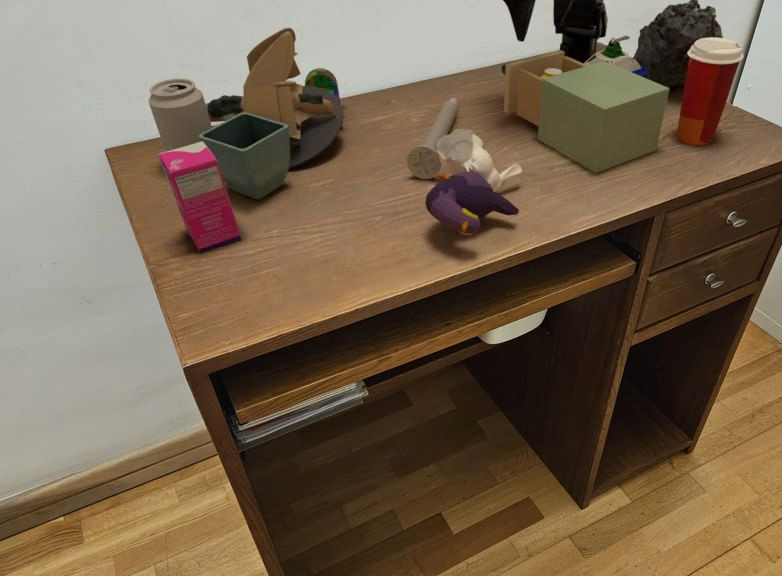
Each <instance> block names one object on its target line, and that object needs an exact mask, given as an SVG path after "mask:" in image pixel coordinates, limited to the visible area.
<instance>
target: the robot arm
mask: <svg viewBox="0 0 782 576" xmlns="http://www.w3.org/2000/svg"><path fill="white" fill-rule="evenodd" d="M502 1H503V3H504V4H505V5H506V7H507V10H508V13H509V15H510V19H511V22H512V26H513V29H514V34H515V36H516V40H517V41H518V42H520V43H521V42H522V43H523V42H524V41H525V40H526V36H527V34H528V30H529V27H530V24H531V19H532V17H533V16H532V15H533V12H534V9H535V5H536V0H502ZM604 1H605V0H553V7H552V8H553V9H552V10H553V11H552V12H553V13H552V14H553V15H552V16H553V19H552V20H553V27H554V28H555V29H554V30H555V31H554V32H555V34H556V35H559V34H560V35H561V42H560V44H559V50H561V51H564V52H565V53H564V57H566V56H567V57H569V58H572V59H574V60H576V61H578V62H581V63H583V64H584V63H585V62H586V61H587V60H588V59H589V58H590V57H592V56H593V55H594V54H595V53H597V46H598V45H597V44H598V40H600V39H601V38H606V37H607V31H608V30H607V29H608V22H609V17H608V14H607V9H606V4H605V2H604Z"/></svg>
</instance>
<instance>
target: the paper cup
mask: <svg viewBox="0 0 782 576" xmlns="http://www.w3.org/2000/svg"><path fill="white" fill-rule="evenodd" d="M687 54H688V56H689V57H690V58H689V64H688V69H687V75H686V81H685V85H684V87H683V88H684V89H683V93H682V99H681V105H680V111H679V117H678V123H677V129H676V130H677V131H676V138H677V139H678V140H679V141H680V142H682V143H684V144H688V145H691V146H692V145H693V146H704V145H708V144H710V143H712V142H713V140H714V137H715V135H716V133H717V130H718V127H719V124H720V120H721V118H722V115H723V113H724V109H725V107H726V104H727V101H728V98H729V96H730V92H731V90H732V86H733V83H734V81H735V80H734V79H735V77H736V74H737V71H738V68H739V65H740V62H741V61H743V59H744V53H743V47H742V45H741V44H740V43H739V42H738V41H735V40H733V39H729V38H724V37H723V38H702V39H699V40H697V41H695V43H694V45H692V46H691V49H690V50H689V51H688V52H687Z"/></svg>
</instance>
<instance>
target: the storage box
mask: <svg viewBox="0 0 782 576" xmlns="http://www.w3.org/2000/svg"><path fill="white" fill-rule="evenodd" d="M669 93H670V87H668V88H667V87H665V86H663V85H660V84H658V83H656V82H653V81H651V80H649V79H646V78H644V77H641V76H639V75H637V74H634V73H632V72H630V71H627V70H625V69H622V68H620V67H618V66H615V65H613V64H611V63H608V62H606V61H603V62H600V63H596V64H593V65H589V66H586V67H582V68H579V69H575V70H572V71H568V72H565V73H561V74H558V75H554V76H550V77H547V78H543V79H542V89H541V102H540V115H539V127H538V128H537V129H538V130H537V140H538V141H540V142H541V143H543V144H545V145H546V146H548V147H550V148H552V149H553V150H555V151H557V152H558V153H560V154H562V155H564V156H565V157H567V158H569V159H570V160H572V161H574V162H575V163H577V164H579V165H581V166H582V167H584V168H585V169H587V170H589V171H591V172H593V173H594V174H597V173H599V172H602V171H605V170H607V169H610V168H613V167H616V166H618V165H621V164H625V163H626V162H629V161H632V160H635V159H637V158H640V157H642V156H645V155H648V154H650V153H653V152H656V151H657V150H658V145H659V140H660V136H661V130H662V126H663V122H664V117H665V112H666V108H667V102H668V98H669Z"/></svg>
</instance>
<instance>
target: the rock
mask: <svg viewBox="0 0 782 576" xmlns="http://www.w3.org/2000/svg"><path fill="white" fill-rule="evenodd" d="M716 12H717V11H716V8H715V7H714V6H711V5H707V6H706V7H705V8H701V4H700V3H699V0H689V1H688V2H684V3H682V2H680V3H677V4H668V5H667V6H666V7H665V8H664V9H663V10H662V11H661V12H658V13H657V15H656V16H655V18H654V19H653V20H652V21H650V22H649V24H648V25H644V26H643V27H642V28H641V29H639V36H638V39H637V48H636V50H635V52H634V55H633V57H632V58H633V59H635V60H636V61H637V62H638V63H639V64H641V65H642V66H643V67H645V68H646V69H647V70H648V72H649V73H648V79H649V80H651V81H653V82H656V83H658V84H660V85H663V86H665V87H667V88H672V87H675V86H677V85H678V86H679V87H680V86H685V81H686V75H687V69H688V64H689V58H690V57H689V56H688V54H687V52H688V51H689V50H690V49H691V46H692V45H694V43H695V41H697V40H699V39H702V38H724V36H723V31H722V27H721V25H720V24H719V22H718V21H717V20H716V18H717V14H716Z"/></svg>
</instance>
